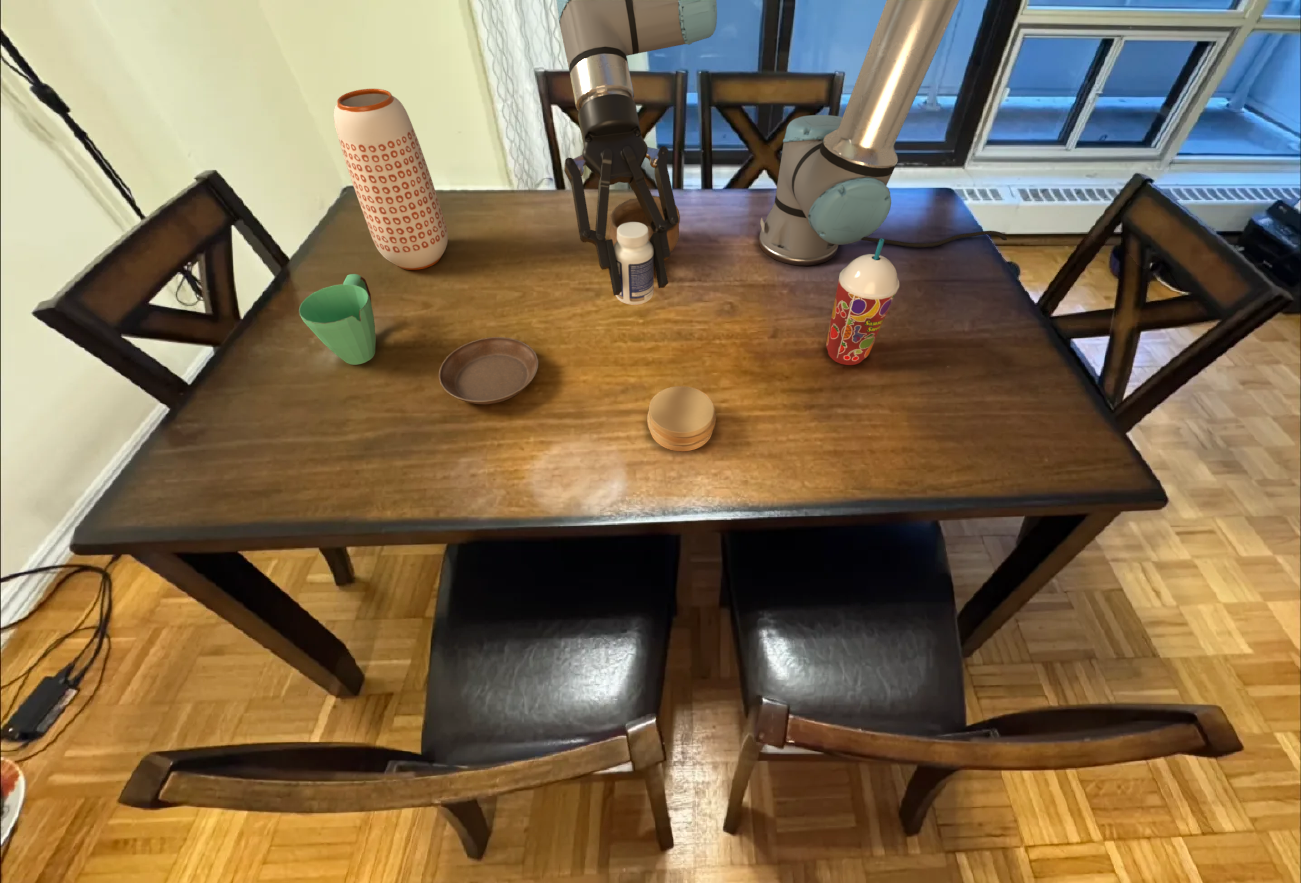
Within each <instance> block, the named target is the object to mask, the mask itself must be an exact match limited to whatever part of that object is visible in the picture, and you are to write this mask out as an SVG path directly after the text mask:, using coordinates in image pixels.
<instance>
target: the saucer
mask: <svg viewBox="0 0 1301 883" xmlns="http://www.w3.org/2000/svg"><path fill="white" fill-rule="evenodd" d="M538 370H539V358H538V355H537V353H536V351H535V350H534V349H533V348H532V347H531V346H530V345H529V344H527V343H525V342H523V341H522V340H519V339H515V338H512V337H504V336H493V337H491V336H490V337H484V338H480V339H476V340H472V341H470V342H467V343H464V344H463V345H461V346H459V347H457V348H456V349H454V350H453V351H452V352H450V353H449V354H448V355H447V356H446V357H445V358H444V360H443V362H442V363H441V365H440V367H439V370H438V380H439V383H440V386H441V387H442V389H443V390H444V391H445V392H446V393H447V394H449V395H450V396H452V397H454V398H455V399H458V400H461V401H462V402H466V403H469V404H476V405H490V404H491V405H493V404H496V403H502V402H505V401H507V400H509V399H511V398H513V397H515V396H517V395H518V394H520V393H521V392H522V391H524V390H525V389H526V388H527V386H529V384H531V382H532V380H534V377H536V374H537V372H538Z"/></svg>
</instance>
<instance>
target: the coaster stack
mask: <svg viewBox="0 0 1301 883" xmlns="http://www.w3.org/2000/svg"><path fill="white" fill-rule="evenodd" d="M646 418H647V427H648V430H649V432H650V435H651V437H652V439H653V440H654V441H655V442H656V443H657V444H658V445H659V446H661V447H663V448H665V449H667V450H671V451H673V452H690V451H694V450H697V449H699V448H701V447H703V446H704V445H705V444H706V443H707V442H708V441H709V440H710V439H711V437H712V435H713V430H714V429H715V426H716V421H717V413H716V408H715V406H714V403H713V401H712V398H710V396H708V395H707V394H706V393H705V392H703V391H702V390H700V389H697V388H695V387H693V386H692V387H691V386H686V385H676V386H670V387H666V388H664V389H662V390H660V391H659V392H656V394H655V395H654V396H653V397H652V398H651V400H650V401H649V405H648V411H647V417H646Z"/></svg>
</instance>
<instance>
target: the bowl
mask: <svg viewBox="0 0 1301 883" xmlns="http://www.w3.org/2000/svg"><path fill="white" fill-rule="evenodd" d="M652 197H653V199H654V201H655V203H656V205H657V207H658V209H659V211H660V213H661V216H662V218H663V220H664V216H663V211H662V207H661V202H660V197H659V195H658V196H657V195H652ZM676 209H677V214H678V219H679V221H678V223H677V225H676V226H675V227H674V229H673V230H670V231H668V232H667V238H668V244H669V249H670V253H671V252H672V251H674V249H675V248H676V246H677V244H678V242H679V238H680V223H681V222H680V221H681V214H680V210H679V208H678V206H677V205H676ZM664 221H665V220H664ZM628 222H639V223H642V224H644V225H646V226H647V228H648V236H649V238H648V241H650V240H649V239H650V237H651V236H652V234H653V231H652V229H651V227H650V224H649V222H648V220H647V218H646V216H645V214H644V212H643V210H642V208H641V206H640V203H639V201H638V199H637V197H636V198H629V199H627V200H625V201H624V202H621V203H619V204H618V205H616V206H615V207H614V209H613V210H612V211H611V213H610V215H609V232H608V236H609V240H610V239H612V241H613V246H614V244H615V243H616V242H617V228H618V227H619V226H620V225H622V224H624V223H628Z"/></svg>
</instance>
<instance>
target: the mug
mask: <svg viewBox="0 0 1301 883" xmlns="http://www.w3.org/2000/svg"><path fill="white" fill-rule="evenodd" d="M298 313H299V316H300V318H301V321H303V323H304V324H305V325H306V327H308V328H309V329H310V331H311V332H312V333H313V335H315V336H316V337H317V339H319V341H320V342H321V343H322V344H323V345H324V346H326V347H327V348H328V349H329V350H330V351H331V352H332V353H333V354H334V355H336V357H338V358H339V359H340V360H342V361H344V363H346V364H347V365H350V366H351V365H352V366H353V365H354V366H356V365H362V364H365V363H367V362H368V361H370V360H372V359H373V358H374V356H375V354H376V344H377V343H376V338H377V336H376V324H375V316H374V310H373V305H372V294H371V292H370V288H369V286H368V283H367V280H366V279H365V278H364V277H362V276H361V275H359V274H357V273H349V274H348V275H346V277H345V279H344V280H343V283H341V284H333V285H330V286H327V287H322V288H320V289H319V290H316V291H314V292H312V293H311V294H309V295H308V296H307V297H306V298H304V299H303V301H302V302H301V303H300V305H299V309H298Z"/></svg>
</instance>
